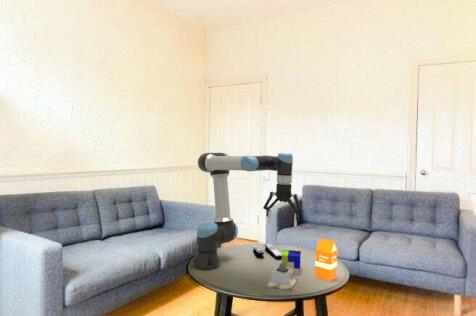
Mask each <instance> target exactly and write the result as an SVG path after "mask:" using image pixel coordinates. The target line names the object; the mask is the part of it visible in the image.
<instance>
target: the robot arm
mask: <svg viewBox="0 0 476 316" xmlns="http://www.w3.org/2000/svg"><path fill="white" fill-rule="evenodd" d="M293 158H294V157H293V153H290V152H289V153H288V152H278V154H277V156H275V155H229V154H228V153H226V152H204V153H202V154H200V156H199V157H198V160H197V165H198V168H199V169H200V171H202V172H204V173H209V174H210V177H211V178H212V180H213V183H212V184H213V194H214V195H213V196H214V205H215V206H214V207H215V219H214V220H213V222H205V223H202V224H200V225H198V227H197V229H196V252H195V255H194V259H193V263H192V266H193V268H195V269H197V270H201V271H210V270H216V269H218V268H219V267H220V266H221V265H220V264H221V262H220V257H219V254H218V245H223V244H227V243H231V242H233V241H235V239H236V238H238V237H237V236H238V234H239V229H238V225H237V224H236V222H235V221H234V219H233V218H232V217H231V209H230V197H229V195H230V193H229V183H228V182H229V181H228V177H229V175H230V171H243V172H244V171H245V172H258V171H259V172H261V171H272V172H273V171H276V187H275V189H276V190H275V192H274V191H270V192H269V196H268V198H267V200H266V202H265V204H264V205H263V207H262V209H264V210H266V217H267V224H268V225H269V224H271V222H272V210H271V208H273V207H274V206H275V204H277V203H278V202H279V203H280V202H281V203H282V202H283V203H288V204H289V206H290V207H291V208H292V210H293V211H294V216H293V217H294V218H293V220H294V221H293V223H294V224H293V227H294V228H296V227H297V226H298V222H297V221H299V220H300V214H302V213H303V212H304V210H303V207H302V206H301V202H300V201H299V197H298V194H297V193H294V194H293V193H292V183H293V163H294V162H293V160H294V159H293ZM273 197H276V198H275V199H274V200H273V201H272V202H271V200H272V199H273ZM291 198H292V199H294V202H295V203H294V202H293V201H292V199H291ZM270 202H271V204H270ZM269 204H270V205H269Z"/></svg>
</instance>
